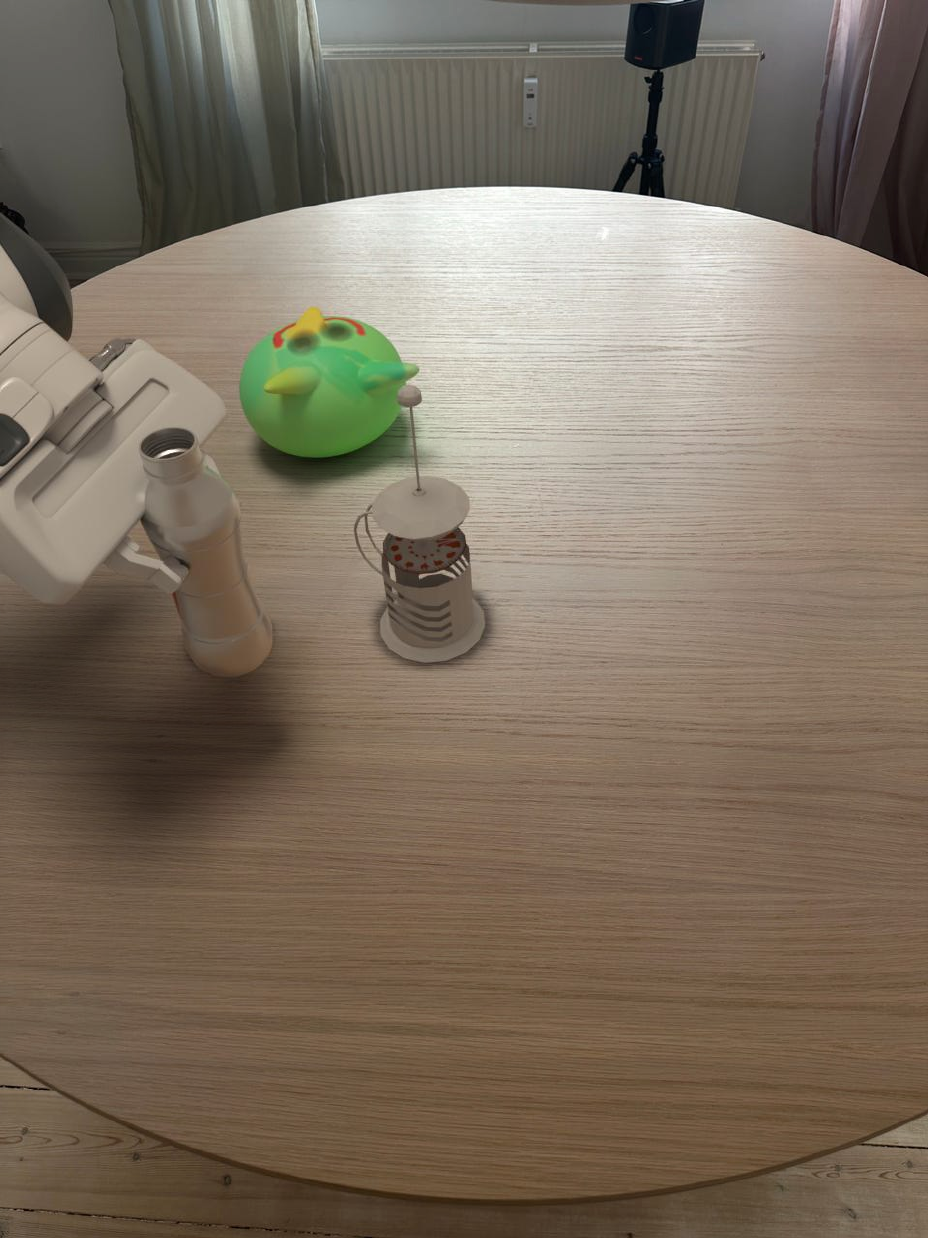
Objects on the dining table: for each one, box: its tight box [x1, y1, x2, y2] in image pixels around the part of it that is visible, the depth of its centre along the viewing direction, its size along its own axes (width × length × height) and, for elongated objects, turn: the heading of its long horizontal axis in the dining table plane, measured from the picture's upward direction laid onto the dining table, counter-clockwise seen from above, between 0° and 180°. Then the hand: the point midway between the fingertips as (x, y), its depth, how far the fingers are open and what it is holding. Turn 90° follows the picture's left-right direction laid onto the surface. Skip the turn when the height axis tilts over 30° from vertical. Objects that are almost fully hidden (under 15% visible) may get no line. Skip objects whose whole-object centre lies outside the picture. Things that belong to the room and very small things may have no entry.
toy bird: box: [238, 306, 420, 458], centre depth 106 cm, size 18×17×15 cm
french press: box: [353, 384, 486, 664], centre depth 82 cm, size 10×12×25 cm
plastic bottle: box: [139, 427, 274, 678], centre depth 69 cm, size 6×7×20 cm
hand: (207, 548), depth 67 cm, fingers closed on plastic bottle, 6 cm apart
